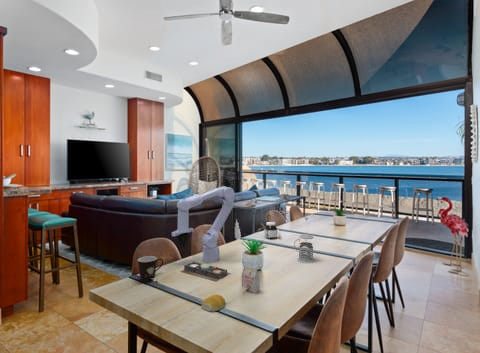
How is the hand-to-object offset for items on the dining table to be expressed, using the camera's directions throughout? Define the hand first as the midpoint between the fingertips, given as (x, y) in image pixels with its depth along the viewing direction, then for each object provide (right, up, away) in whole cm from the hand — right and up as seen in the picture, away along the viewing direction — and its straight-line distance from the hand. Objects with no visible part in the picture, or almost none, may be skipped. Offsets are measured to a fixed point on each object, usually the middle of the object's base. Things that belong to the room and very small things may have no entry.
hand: (182, 247), depth 156 cm
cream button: (+7, -9, -9) cm, 15 cm away
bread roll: (+21, -12, -44) cm, 50 cm away
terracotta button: (+20, -9, -17) cm, 28 cm away
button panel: (+14, -11, -13) cm, 22 cm away
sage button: (+14, -8, -13) cm, 20 cm away
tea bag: (+35, -12, -30) cm, 48 cm away
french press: (+68, -10, +10) cm, 69 cm away
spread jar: (+56, -9, +62) cm, 84 cm away
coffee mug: (-12, -11, -18) cm, 24 cm away
